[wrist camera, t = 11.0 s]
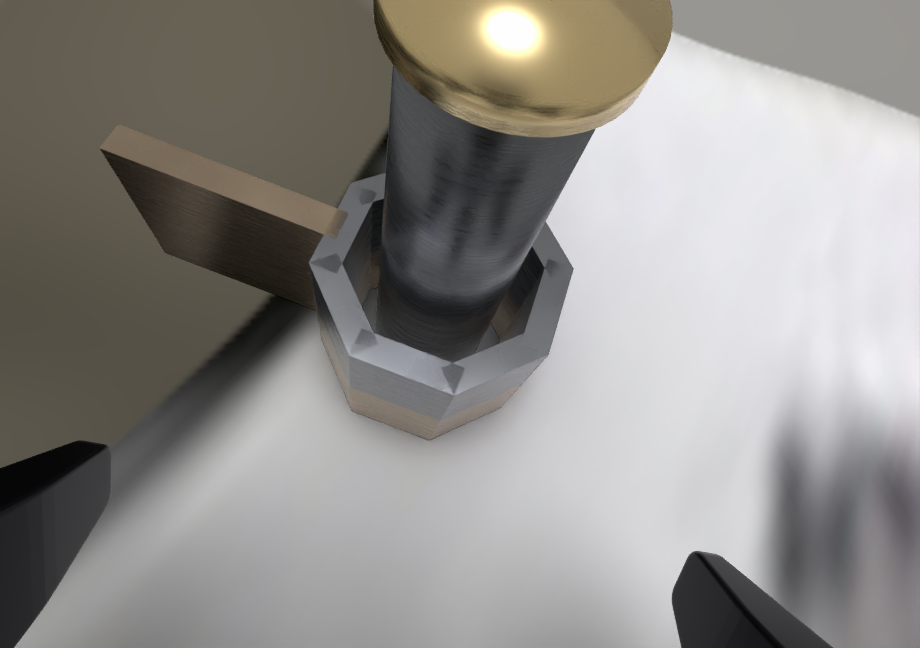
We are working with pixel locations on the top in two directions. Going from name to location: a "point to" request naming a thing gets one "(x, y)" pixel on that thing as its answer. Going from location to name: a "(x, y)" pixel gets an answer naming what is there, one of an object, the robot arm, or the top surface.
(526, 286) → the bronze hinge
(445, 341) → the hinge pin
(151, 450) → the top surface
